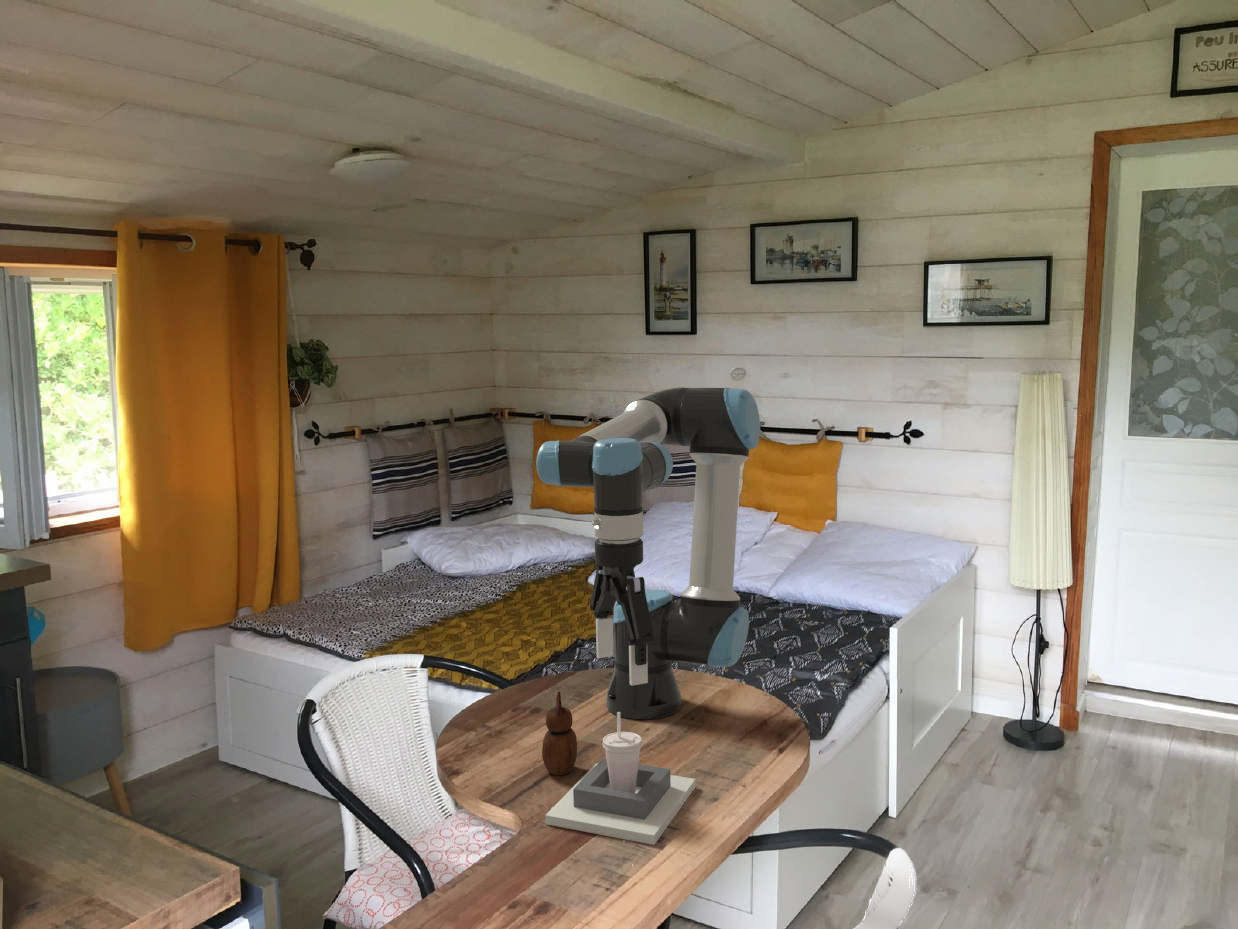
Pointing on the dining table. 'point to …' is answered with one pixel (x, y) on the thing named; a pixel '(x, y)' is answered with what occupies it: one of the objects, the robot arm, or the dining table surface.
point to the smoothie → (622, 758)
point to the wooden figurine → (559, 740)
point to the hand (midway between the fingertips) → (621, 669)
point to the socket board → (620, 822)
